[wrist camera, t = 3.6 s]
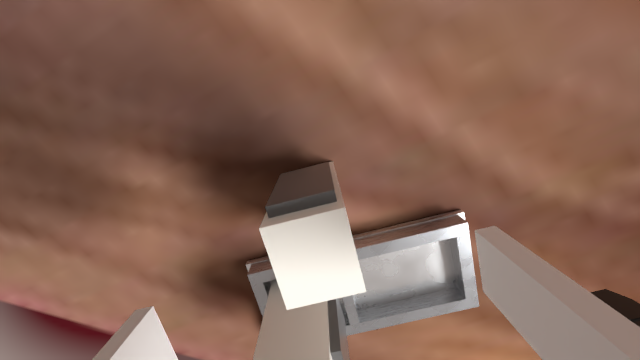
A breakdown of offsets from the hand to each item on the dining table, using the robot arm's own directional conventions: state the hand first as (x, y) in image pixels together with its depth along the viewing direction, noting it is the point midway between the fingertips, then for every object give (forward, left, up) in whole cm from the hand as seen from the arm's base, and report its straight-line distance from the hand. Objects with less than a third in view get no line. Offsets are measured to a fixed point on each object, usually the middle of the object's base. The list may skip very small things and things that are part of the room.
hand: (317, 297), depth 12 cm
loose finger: (0, 0, -12) cm, 12 cm away
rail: (+2, -8, -12) cm, 15 cm away
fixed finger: (-3, -8, -12) cm, 15 cm away
